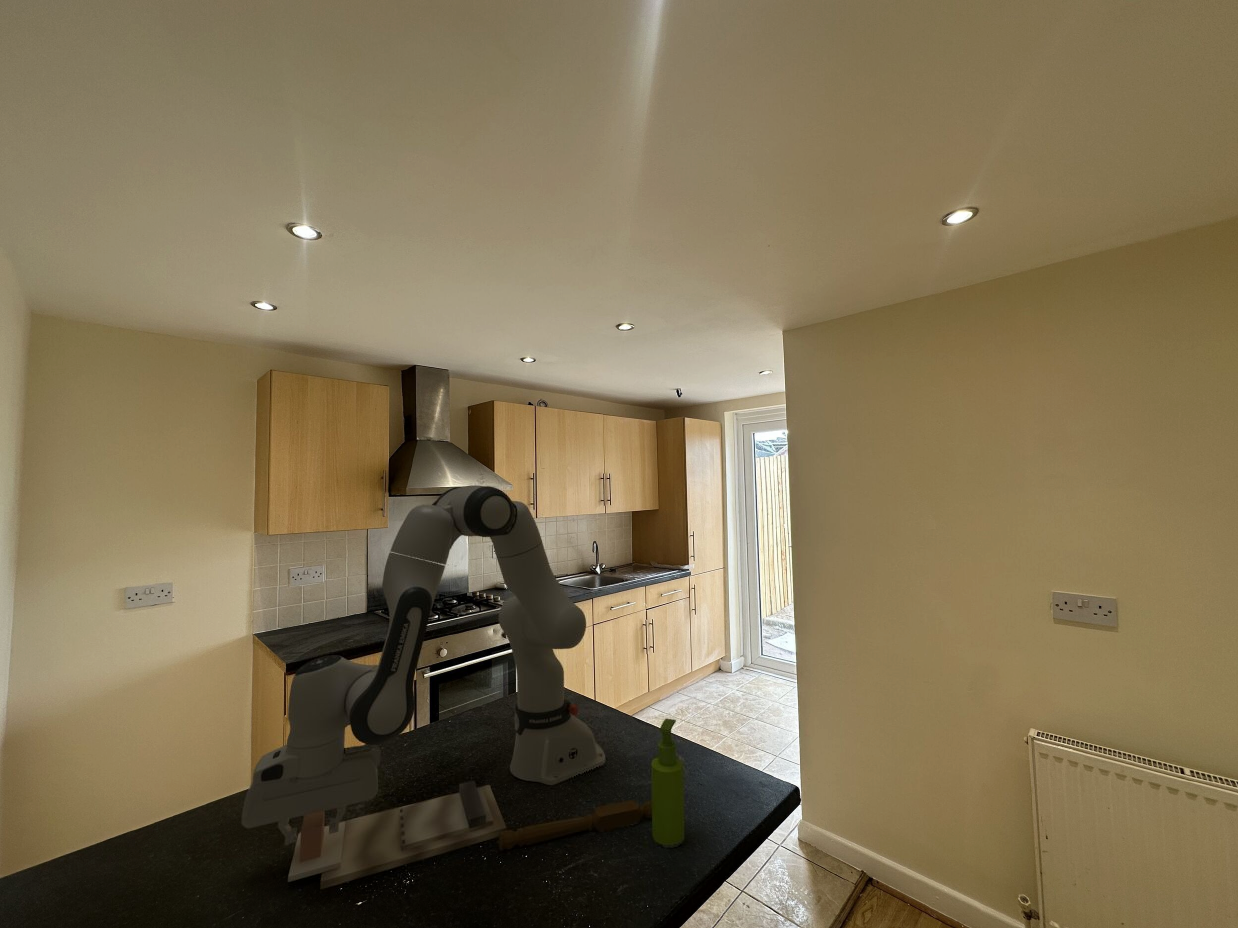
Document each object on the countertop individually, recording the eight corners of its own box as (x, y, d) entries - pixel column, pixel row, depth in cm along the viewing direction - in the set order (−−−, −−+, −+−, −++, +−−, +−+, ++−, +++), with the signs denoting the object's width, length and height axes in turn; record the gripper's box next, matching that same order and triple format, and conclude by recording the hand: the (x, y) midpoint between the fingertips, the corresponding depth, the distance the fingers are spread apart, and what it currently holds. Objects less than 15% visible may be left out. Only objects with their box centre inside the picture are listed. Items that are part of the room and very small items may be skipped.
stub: (344, 825, 94) (346, 793, 94) (340, 866, 83) (341, 830, 84) (298, 837, 91) (300, 803, 91) (287, 881, 80) (289, 843, 80)
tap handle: (498, 827, 91) (651, 795, 100) (498, 844, 91) (651, 811, 100) (500, 837, 88) (657, 804, 97) (499, 856, 88) (657, 820, 97)
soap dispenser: (688, 827, 94) (686, 718, 96) (680, 851, 88) (678, 733, 90) (658, 821, 96) (656, 714, 98) (648, 844, 90) (647, 729, 92)
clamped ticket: (489, 790, 107) (489, 772, 108) (506, 834, 93) (506, 813, 93) (329, 831, 94) (329, 811, 95) (320, 889, 80) (321, 865, 80)
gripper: (381, 734, 95) (378, 810, 94) (250, 758, 86) (246, 843, 85) (381, 748, 89) (378, 829, 88) (241, 776, 81) (236, 866, 79)
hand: (312, 836), depth 87 cm, fingers open, 5 cm apart
